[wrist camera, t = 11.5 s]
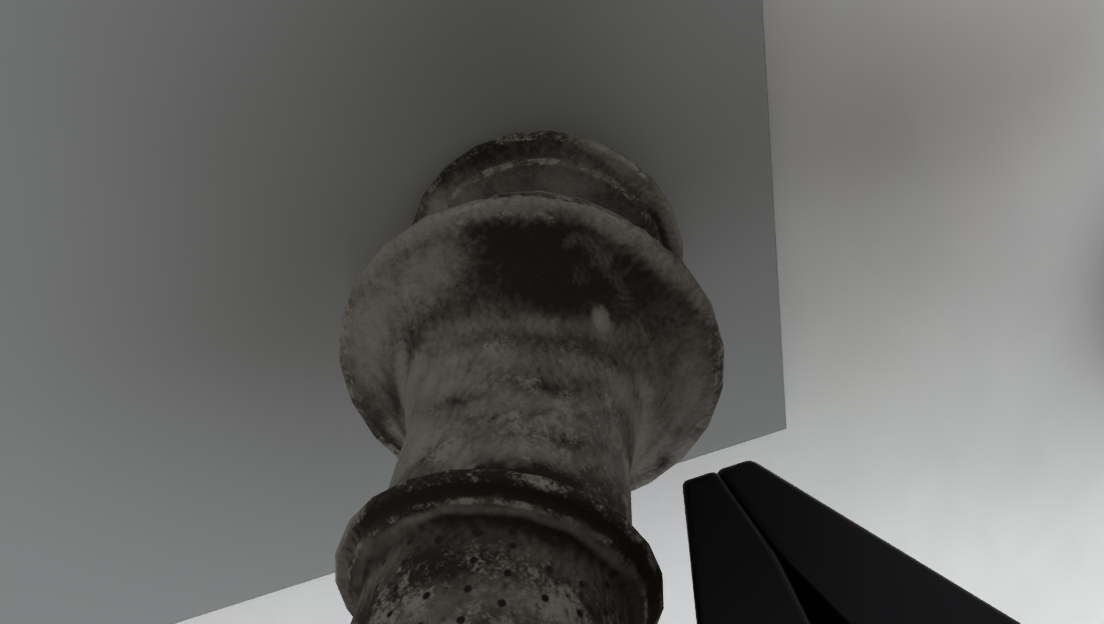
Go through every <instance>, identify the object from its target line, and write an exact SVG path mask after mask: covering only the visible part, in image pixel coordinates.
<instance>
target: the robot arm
mask: <svg viewBox="0 0 1104 624" xmlns="http://www.w3.org/2000/svg"><path fill="white" fill-rule="evenodd" d="M683 495H684V505H685V514H686V524H687V533H688V543H689V552H690V562H691V572H692V581H693V591H694V600H695V610H696V620H697V624H1020V623H1019V622H1017V621H1016V620H1014V619H1012V618H1011V617H1009V616H1007V615H1006V614H1004V613H1002V612H1001V611H999V610H997V609H996V608H994V607H992V606H991V605H989V604H988V603H986V602H984V601H983V600H981V599H979V598H978V597H976V596H974V595H973V594H971V593H969V592H968V591H966V590H965V589H963V588H961V587H960V586H958V585H956V584H955V583H953V582H951V581H950V580H948V579H946V578H945V577H943V576H942V575H940V574H938V573H937V572H935V571H933V570H932V569H930V568H928V567H927V566H925V565H923V564H922V563H920V562H919V561H917V560H915V559H914V558H912V557H910V556H909V555H907V554H905V553H904V552H902V551H900V550H899V549H897V548H896V547H894V546H892V545H891V544H889V543H887V542H886V541H884V540H882V539H881V538H879V537H877V536H876V535H874V534H872V533H871V532H869V531H868V530H866V529H864V528H863V527H861V526H859V525H858V524H856V523H854V522H853V521H851V520H849V519H848V518H846V517H845V516H843V515H841V514H840V513H838V512H836V511H835V510H833V509H831V508H830V507H828V506H826V505H825V504H823V503H822V502H820V501H818V500H817V499H815V498H813V497H812V496H810V495H808V494H807V493H805V492H803V491H802V490H800V489H799V488H797V487H795V486H794V485H792V484H790V483H789V482H787V481H785V480H784V479H782V478H780V477H779V476H777V475H776V474H774V473H772V472H771V471H769V470H767V469H766V468H764V467H762V466H761V465H759V464H757V463H755V462H752V461H745V462H742V463H739V464H736V465H733V466H730V467H727V468H723V469H721V470H720V471H719V472H718V473H714V472H713V473H708V474H705V475H702V476H699V477H696V478H693V479H690V480H687V481H685V482H684V484H683Z"/></svg>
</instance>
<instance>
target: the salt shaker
mask: <svg viewBox="0 0 1104 624" xmlns="http://www.w3.org/2000/svg"><path fill="white" fill-rule="evenodd" d="M340 366H341V370H342V373H343V376H344V379H345V382H346V385H347V389H348V392H349V395H350V398H351V401H352V403H353V405H354V406H355V408H356V409H357V411H358V412H359V414H360V415H361V417H362V418H363V420H364V421H365V423H366V424H367V426H368V428H369V429H370V431H371V432H372V434H373V435H374V437H375V438H376V439H377V440H379V441H380V442H381V443H382V444H383V445H384V446H385V447H386V448H387V449H388V450H389V451H390V452H391V453H393V454H394V455H395V456H396V457H397V458H398V460H397V463H396V466H395V469H394V472H393V475H392V478H391V481H390V484H389V487H388V490H386V491H384V492H382V493H380V494H378V495H376V496H374V497H372V498H371V499H370V500H369V501H368V502H367V503H366V504H365V505H364V506H363V507H362V508H361V509H360V510H359V511H358V512H357V513H356V514H355V515H354V516H353V517H352V518H351V519H350V520H349V522H348V524H347V527H346V529H345V531H344V534H343V536H342V538H341V541H340V543H339V545H338V548H337V550H336V553H335V574H336V584H337V586H338V589H339V591H340V593H341V596H342V598H343V601H344V603H345V605H346V608H347V610H348V611H349V612H350V613H351V615H352V616H353V619H352V622H351V624H657V623H658V621H659V618H660V616H661V613H662V611H663V608H664V607H663V580H662V572H661V570H660V567H659V565H658V563H657V561H656V559H655V556H654V554H653V552H652V550H651V547H650V545H649V544H648V543H647V541H646V540H645V539H644V538H643V537H642V536H641V535H640V534H639V533H638V532H637V530H636V529H635V528H634V527H633V526H632V514H631V491H633V490H635V489H637V488H640V487H642V486H644V485H646V484H649V483H650V482H652V481H653V480H655V479H656V478H657V477H659V476H660V475H661V474H663V473H664V472H665V471H667V470H668V469H669V468H671V467H672V466H673V465H675V464H676V463H677V462H679V461H680V460H681V459H683V458H684V457H685V455H686V454H687V453H688V452H689V450H690V449H691V448H692V447H693V445H694V444H695V443H696V441H697V440H698V439H699V438H700V436H701V435H702V434H703V433H704V431H705V430H706V429H707V427H708V426H709V424H710V421H711V418H712V416H713V413H714V410H715V408H716V405H717V403H718V400H719V397H720V395H721V392H722V390H723V370H724V344H723V341H722V337H721V334H720V331H719V327H718V324H717V321H716V317H715V314H714V311H713V307H712V304H711V301H710V300H709V298H708V297H707V296H706V294H705V293H704V291H703V290H702V288H701V287H700V285H699V284H698V283H697V281H696V280H695V278H694V277H693V275H692V274H691V272H690V271H689V269H688V268H687V267H686V265H685V264H684V262H683V241H682V237H681V234H680V231H679V228H678V224H677V221H676V218H675V215H674V211H673V208H672V207H671V205H670V204H669V202H668V201H667V199H666V198H665V196H664V195H663V193H662V192H661V190H660V189H659V187H658V186H657V184H656V183H655V181H654V180H653V178H651V177H650V176H649V175H648V174H647V173H646V172H644V171H643V170H642V169H641V168H640V167H638V166H637V165H636V164H635V163H634V162H633V161H631V160H630V159H629V158H628V157H627V156H626V155H624V154H622V153H620V152H618V151H616V150H614V149H612V148H609V147H607V146H605V145H603V144H601V143H599V142H597V141H595V140H592V139H590V138H587V137H581V136H576V135H570V134H565V133H560V132H554V131H540V132H526V133H513V134H508V135H506V136H503V137H500V138H497V139H494V140H491V141H488V142H486V143H483V144H480V145H477V146H475V147H473V148H472V149H470V150H469V151H467V152H466V153H465V154H463V155H462V156H460V157H459V158H457V159H456V160H455V161H453V162H452V163H450V164H449V165H447V166H446V167H445V168H444V169H443V171H442V172H441V173H440V174H439V176H438V177H437V178H436V179H435V181H434V182H433V183H432V184H431V186H430V187H429V188H428V190H427V191H426V192H425V193H424V195H423V197H422V200H421V202H420V205H419V208H418V210H417V213H416V215H415V218H414V221H413V223H412V226H410V227H409V228H407V229H406V230H405V231H403V232H402V233H400V234H399V235H397V236H396V237H394V238H393V239H391V240H390V241H388V242H387V243H385V244H384V245H383V246H382V248H381V249H380V250H379V251H378V253H377V254H376V255H375V257H374V258H373V259H372V260H371V262H370V263H369V264H368V265H367V267H366V268H365V269H364V270H363V272H362V273H361V274H360V275H359V277H358V278H357V279H356V281H355V283H354V285H353V288H352V290H351V293H350V296H349V299H348V302H347V305H346V307H345V310H344V313H343V316H342V319H341V322H340Z"/></svg>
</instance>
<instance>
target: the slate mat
mask: <svg viewBox="0 0 1104 624" xmlns="http://www.w3.org/2000/svg"><path fill="white" fill-rule="evenodd" d="M540 131H554V132H560V133H565V134H570V135H576V136H581V137H587V138H590V139H592V140H595V141H597V142H599V143H601V144H603V145H605V146H607V147H609V148H612V149H614V150H616V151H618V152H620V153H622V154H624V155H626V156H627V157H628V158H629V159H630V160H631V161H633V162H634V163H635V164H636V165H637V166H638V167H640V168H641V169H642V170H643V171H644V172H646V173H647V174H648V175H649V176H650V177H651V178H653V180H654V181H655V183H656V184H657V186H658V187H659V189H660V190H661V192H662V193H663V195H664V196H665V198H666V199H667V201H668V202H669V204H670V205H671V207H672V208H673V211H674V215H675V218H676V221H677V224H678V228H679V231H680V234H681V237H682V241H683V262H684V264H685V265H686V267H687V268H688V269H689V271H690V272H691V274H692V275H693V277H694V278H695V280H696V281H697V283H698V284H699V285H700V287H701V288H702V290H703V291H704V293H705V294H706V296H707V297H708V298H709V300H710V301H711V304H712V307H713V311H714V314H715V317H716V321H717V324H718V327H719V331H720V334H721V337H722V341H723V344H724V370H723V390H722V392H721V395H720V397H719V400H718V403H717V405H716V408H715V410H714V413H713V416H712V418H711V421H710V424H709V426H708V427H707V429H706V430H705V431H704V433H703V434H702V435H701V436H700V438H699V439H698V440H697V441H696V443H695V444H694V445H693V447H692V448H691V449H690V450H689V452H688V453H687V454H686V455H685V457H684V458H683V459H681V460H680V461H679V462H677V463H680V462H683V461H686V460H689V459H692V458H695V457H698V456H702V455H705V454H708V453H711V452H714V451H717V450H720V449H724V448H727V447H730V446H733V445H736V444H739V443H742V442H746V441H749V440H752V439H755V438H758V437H761V436H764V435H767V434H771V433H774V432H777V431H780V430H783V429H786V415H785V398H784V380H783V362H782V344H781V327H780V309H779V291H778V274H777V256H776V238H775V220H774V203H773V185H772V167H771V150H770V132H769V114H768V96H767V79H766V61H765V43H764V26H763V8H762V0H0V624H175V623H178V622H181V621H184V620H187V619H190V618H194V617H197V616H200V615H203V614H206V613H209V612H212V611H215V610H219V609H222V608H225V607H228V606H231V605H234V604H237V603H241V602H244V601H247V600H250V599H253V598H256V597H259V596H263V595H266V594H269V593H272V592H275V591H278V590H281V589H284V588H288V587H291V586H294V585H297V584H300V583H303V582H306V581H310V580H313V579H316V578H319V577H322V576H325V575H328V574H332V573H335V553H336V550H337V548H338V545H339V543H340V541H341V538H342V536H343V534H344V531H345V529H346V527H347V524H348V522H349V520H350V519H351V518H352V517H353V516H354V515H355V514H356V513H357V512H358V511H359V510H360V509H361V508H362V507H363V506H364V505H365V504H366V503H367V502H368V501H369V500H370V499H371V498H372V497H374V496H376V495H378V494H380V493H382V492H384V491H386V490H388V487H389V484H390V481H391V478H392V475H393V472H394V469H395V466H396V463H397V460H398V458H397V457H396V456H395V455H394V454H393V453H391V452H390V451H389V450H388V449H387V448H386V447H385V446H384V445H383V444H382V443H381V442H380V441H379V440H377V439H376V438H375V437H374V435H373V434H372V432H371V431H370V429H369V428H368V426H367V424H366V423H365V421H364V420H363V418H362V417H361V415H360V414H359V412H358V411H357V409H356V408H355V406H354V405H353V403H352V401H351V398H350V395H349V392H348V389H347V385H346V382H345V379H344V376H343V373H342V370H341V366H340V322H341V319H342V316H343V313H344V310H345V307H346V305H347V302H348V299H349V296H350V293H351V290H352V288H353V285H354V283H355V281H356V279H357V278H358V277H359V275H360V274H361V273H362V272H363V270H364V269H365V268H366V267H367V265H368V264H369V263H370V262H371V260H372V259H373V258H374V257H375V255H376V254H377V253H378V251H379V250H380V249H381V248H382V246H383V245H384V244H385V243H387V242H388V241H390V240H391V239H393V238H394V237H396V236H397V235H399V234H400V233H402V232H403V231H405V230H406V229H407V228H409V227H410V226H412V223H413V221H414V218H415V215H416V213H417V210H418V208H419V205H420V202H421V200H422V197H423V195H424V193H425V192H426V191H427V190H428V188H429V187H430V186H431V184H432V183H433V182H434V181H435V179H436V178H437V177H438V176H439V174H440V173H441V172H442V171H443V169H444V168H445V167H446V166H447V165H449V164H450V163H452V162H453V161H455V160H456V159H457V158H459V157H460V156H462V155H463V154H465V153H466V152H467V151H469V150H470V149H472V148H473V147H475V146H477V145H480V144H483V143H486V142H488V141H491V140H494V139H497V138H500V137H503V136H506V135H508V134H513V133H526V132H540ZM677 463H676V464H677Z"/></svg>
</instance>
